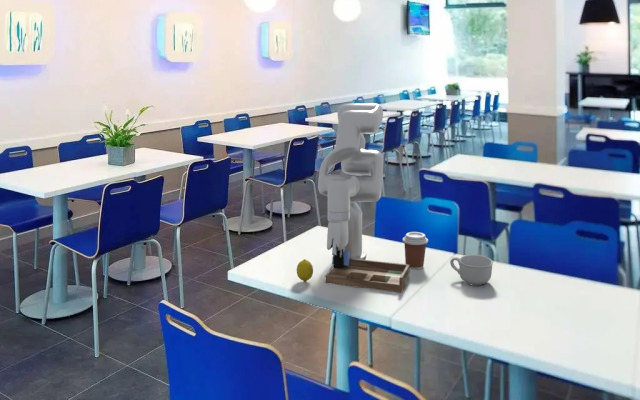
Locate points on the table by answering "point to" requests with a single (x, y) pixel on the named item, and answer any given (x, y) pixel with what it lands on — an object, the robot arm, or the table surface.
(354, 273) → the wooden rimmed tray
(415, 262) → the coffee cup
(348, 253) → the blue block
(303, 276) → the lemon
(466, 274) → the teacup
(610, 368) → the table surface
